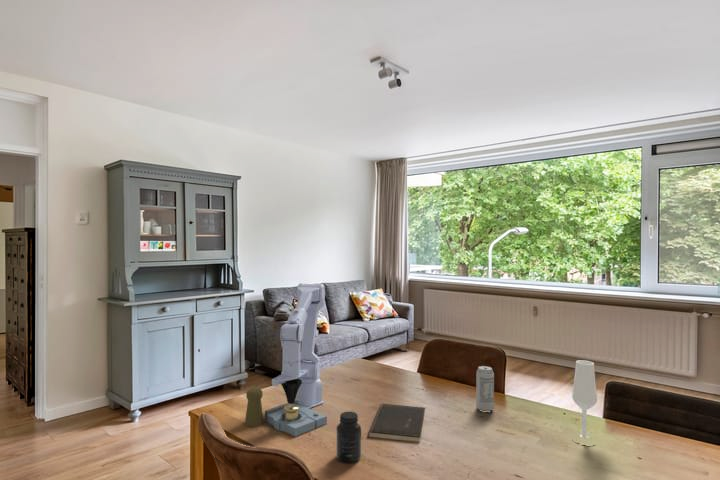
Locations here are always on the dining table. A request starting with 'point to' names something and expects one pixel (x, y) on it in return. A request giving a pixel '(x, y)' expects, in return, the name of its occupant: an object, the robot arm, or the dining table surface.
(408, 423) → the hardcover book
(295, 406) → the cylinder
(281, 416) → the block
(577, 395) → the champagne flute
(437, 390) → the dining table surface
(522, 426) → the dining table surface
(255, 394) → the olive green tapered piece
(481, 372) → the energy drink can
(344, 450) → the supplement bottle
